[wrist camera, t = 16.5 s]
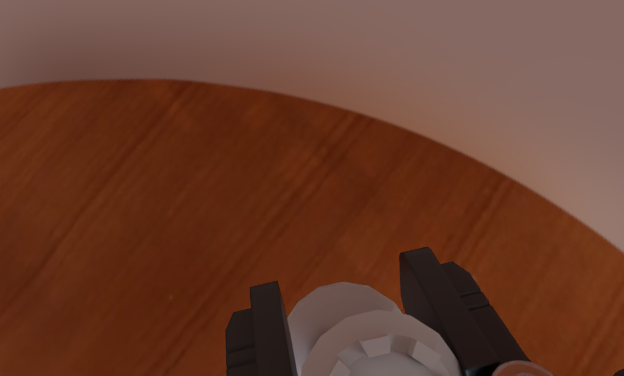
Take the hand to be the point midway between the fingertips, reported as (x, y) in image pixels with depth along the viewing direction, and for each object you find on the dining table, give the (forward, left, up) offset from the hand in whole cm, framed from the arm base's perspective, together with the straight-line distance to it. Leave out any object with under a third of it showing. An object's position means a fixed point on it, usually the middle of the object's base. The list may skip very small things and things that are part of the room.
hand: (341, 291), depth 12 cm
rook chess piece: (0, +2, -4) cm, 5 cm away
